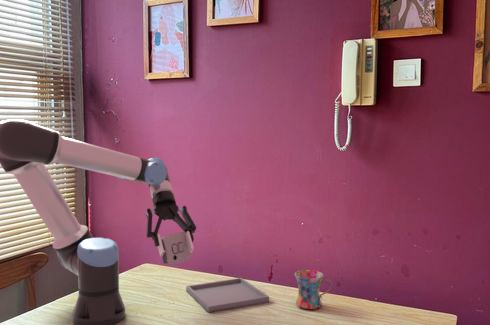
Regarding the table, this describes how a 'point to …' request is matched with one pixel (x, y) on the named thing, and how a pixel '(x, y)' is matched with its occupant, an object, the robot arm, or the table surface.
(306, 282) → the mug
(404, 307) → the table surface
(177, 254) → the electrical switch
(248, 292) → the grey square tray
